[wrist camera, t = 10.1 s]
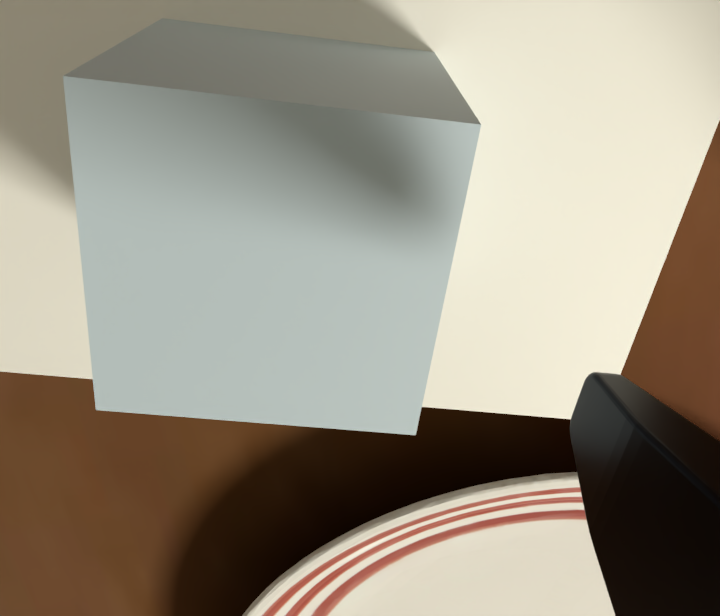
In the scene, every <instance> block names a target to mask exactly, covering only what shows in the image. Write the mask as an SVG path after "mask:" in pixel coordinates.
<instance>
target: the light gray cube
mask: <svg viewBox="0 0 720 616" xmlns="http://www.w3.org/2000/svg"><path fill="white" fill-rule="evenodd" d="M63 82H64V92H65V102H66V112H67V122H68V132H69V143H70V153H71V163H72V173H73V183H74V193H75V203H76V214H77V224H78V234H79V244H80V254H81V264H82V274H83V284H84V295H85V305H86V315H87V325H88V335H89V345H90V355H91V365H92V376H93V386H94V396H95V406H96V410H102V411H115V412H127V413H140V414H153V415H165V416H178V417H191V418H203V419H216V420H229V421H241V422H254V423H266V424H279V425H292V426H304V427H317V428H330V429H342V430H355V431H368V432H380V433H393V434H406V435H416V432H417V427H418V422H419V418H420V413H421V408H422V403H423V399H424V394H425V389H426V384H427V380H428V375H429V370H430V365H431V361H432V356H433V351H434V346H435V342H436V337H437V332H438V327H439V323H440V318H441V313H442V308H443V304H444V299H445V294H446V289H447V285H448V280H449V275H450V270H451V266H452V261H453V256H454V251H455V247H456V242H457V237H458V233H459V228H460V223H461V218H462V214H463V209H464V204H465V199H466V195H467V190H468V185H469V180H470V176H471V171H472V166H473V161H474V157H475V152H476V147H477V142H478V138H479V133H480V128H481V123H480V122H479V120H478V119H477V117H476V116H475V114H474V113H473V111H472V110H471V108H470V106H469V105H468V103H467V102H466V100H465V99H464V97H463V96H462V94H461V93H460V91H459V89H458V88H457V86H456V85H455V83H454V82H453V80H452V79H451V77H450V76H449V74H448V72H447V71H446V69H445V68H444V66H443V65H442V63H441V62H440V60H439V59H438V57H437V55H436V54H435V52H430V51H422V50H414V49H406V48H398V47H390V46H382V45H374V44H366V43H358V42H350V41H342V40H334V39H326V38H318V37H310V36H302V35H294V34H286V33H278V32H270V31H261V30H253V29H245V28H237V27H229V26H221V25H213V24H205V23H197V22H189V21H181V20H173V19H165V18H162V19H160V20H158V21H157V22H155V23H153V24H152V25H150V26H148V27H146V28H145V29H143V30H141V31H140V32H138V33H136V34H134V35H133V36H131V37H129V38H127V39H126V40H124V41H122V42H121V43H119V44H117V45H115V46H114V47H112V48H110V49H108V50H107V51H105V52H103V53H102V54H100V55H98V56H96V57H95V58H93V59H91V60H90V61H88V62H86V63H84V64H83V65H81V66H79V67H77V68H76V69H74V70H72V71H71V72H69V73H67V74H65V75H64V76H63Z"/></svg>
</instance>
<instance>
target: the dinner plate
mask: <svg viewBox="0 0 720 616" xmlns="http://www.w3.org/2000/svg"><path fill="white" fill-rule="evenodd" d="M242 616H615V613H614V610H613V607H612V604H611V600H610V597H609V594H608V591H607V588H606V585H605V582H604V578H603V575H602V572H601V569H600V566H599V563H598V560H597V556H596V553H595V550H594V547H593V543H592V540H591V536H590V533H589V529H588V524H587V520H586V515H585V510H584V505H583V500H582V495H581V489H580V484H579V479H578V474H577V472H567V473H550V474H541V475H534V476H527V477H520V478H512V479H506V480H500V481H495V482H490V483H485V484H481V485H476V486H472V487H468V488H464V489H460V490H456V491H452V492H449V493H445V494H442V495H438V496H435V497H432V498H429V499H425V500H422V501H419V502H416V503H413V504H411V505H408V506H405V507H403V508H400V509H397V510H395V511H392V512H389V513H387V514H385V515H382V516H380V517H378V518H376V519H373V520H371V521H369V522H366V523H364V524H362V525H360V526H358V527H356V528H354V529H352V530H351V531H349V532H347V533H345V534H343V535H341V536H339V537H337V538H335V539H334V540H332V541H330V542H328V543H327V544H325V545H323V546H322V547H320V548H318V549H317V550H315V551H314V552H312V553H311V554H309V555H308V556H306V557H305V558H303V559H302V560H301V561H299V562H298V563H296V564H295V565H294V566H292V567H291V568H290V569H288V570H287V571H286V572H284V573H283V574H282V575H280V576H279V577H278V578H277V579H276V580H275V581H274V582H272V583H271V584H270V585H269V586H268V587H267V588H266V589H265V590H264V591H263V592H262V593H261V594H260V595H259V596H258V597H257V598H256V599H255V600H254V602H253V603H252V604H251V605H250V606H249V608H248V609H247V610H246V611H245V613H244V614H243V615H242Z"/></svg>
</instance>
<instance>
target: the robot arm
mask: <svg viewBox="0 0 720 616" xmlns="http://www.w3.org/2000/svg"><path fill="white" fill-rule="evenodd" d="M570 438H571V443H572V448H573V453H574V458H575V464H576V469H577V474H578V479H579V484H580V489H581V495H582V500H583V505H584V510H585V515H586V520H587V524H588V529H589V533H590V536H591V540H592V543H593V547H594V550H595V553H596V556H597V560H598V563H599V566H600V569H601V572H602V575H603V578H604V582H605V585H606V588H607V591H608V594H609V597H610V600H611V604H612V607H613V610H614V613H615V616H720V442H719V441H718V440H717V439H715V438H714V437H712V436H711V435H709V434H708V433H706V432H705V431H703V430H702V429H700V428H699V427H697V426H696V425H694V424H693V423H691V422H690V421H689V420H687V419H686V418H684V417H683V416H681V415H680V414H678V413H677V412H675V411H674V410H672V409H671V408H669V407H668V406H666V405H665V404H663V403H662V402H660V401H659V400H658V399H656V398H655V397H653V396H652V395H650V394H649V393H647V392H646V391H644V390H643V389H641V388H640V387H638V386H637V385H635V384H634V383H632V382H631V381H629V380H628V379H627V378H625V377H624V376H622V375H619V374H613V373H602V372H593V373H591V374H589V375H588V376H587V377H586V379H585V381H584V383H583V386H582V389H581V392H580V395H579V397H578V400H577V403H576V406H575V408H574V411H573V414H572V417H571V421H570Z"/></svg>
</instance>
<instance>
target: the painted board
mask: <svg viewBox="0 0 720 616" xmlns="http://www.w3.org/2000/svg"><path fill="white" fill-rule="evenodd" d="M162 18H165V19H173V20H181V21H189V22H197V23H205V24H213V25H221V26H229V27H237V28H245V29H253V30H261V31H270V32H278V33H286V34H294V35H302V36H310V37H318V38H326V39H334V40H342V41H350V42H358V43H366V44H374V45H382V46H390V47H398V48H406V49H414V50H422V51H430V52H435V54H436V55H437V57H438V59H439V60H440V62H441V63H442V65H443V66H444V68H445V69H446V71H447V72H448V74H449V76H450V77H451V79H452V80H453V82H454V83H455V85H456V86H457V88H458V89H459V91H460V93H461V94H462V96H463V97H464V99H465V100H466V102H467V103H468V105H469V106H470V108H471V110H472V111H473V113H474V114H475V116H476V117H477V119H478V120H479V122H480V123H481V128H480V133H479V138H478V142H477V147H476V152H475V157H474V161H473V166H472V171H471V176H470V180H469V185H468V190H467V195H466V199H465V204H464V209H463V214H462V218H461V223H460V228H459V233H458V237H457V242H456V247H455V251H454V256H453V261H452V266H451V270H450V275H449V280H448V285H447V289H446V294H445V299H444V304H443V308H442V313H441V318H440V323H439V327H438V332H437V337H436V342H435V346H434V351H433V356H432V361H431V365H430V370H429V375H428V380H427V384H426V389H425V394H424V399H423V403H422V407H430V408H442V409H454V410H466V411H477V412H489V413H501V414H513V415H525V416H537V417H549V418H561V419H571V417H572V414H573V411H574V408H575V406H576V403H577V400H578V397H579V395H580V392H581V389H582V386H583V383H584V381H585V379H586V377H587V376H588V375H589V374H591V373H593V372H602V373H613V374H619V375H620V374H621V372H622V369H623V366H624V364H625V361H626V359H627V356H628V354H629V351H630V348H631V346H632V343H633V341H634V338H635V336H636V333H637V330H638V328H639V325H640V323H641V320H642V318H643V315H644V312H645V310H646V307H647V305H648V302H649V300H650V297H651V295H652V292H653V289H654V287H655V284H656V282H657V279H658V277H659V274H660V271H661V269H662V266H663V264H664V261H665V259H666V256H667V253H668V251H669V248H670V246H671V243H672V241H673V238H674V235H675V233H676V230H677V228H678V225H679V223H680V220H681V218H682V215H683V212H684V210H685V207H686V205H687V202H688V200H689V197H690V194H691V192H692V189H693V187H694V184H695V182H696V179H697V176H698V174H699V171H700V169H701V166H702V164H703V161H704V158H705V156H706V153H707V151H708V148H709V146H710V143H711V141H712V138H713V135H714V133H715V130H716V128H717V125H718V123H719V120H720V0H0V371H2V372H14V373H26V374H37V375H49V376H61V377H73V378H85V379H93V376H92V365H91V355H90V345H89V335H88V325H87V315H86V305H85V295H84V284H83V274H82V264H81V254H80V244H79V234H78V224H77V214H76V203H75V193H74V183H73V173H72V163H71V153H70V143H69V132H68V122H67V112H66V102H65V92H64V82H63V76H64V75H65V74H67V73H69V72H71V71H72V70H74V69H76V68H77V67H79V66H81V65H83V64H84V63H86V62H88V61H90V60H91V59H93V58H95V57H96V56H98V55H100V54H102V53H103V52H105V51H107V50H108V49H110V48H112V47H114V46H115V45H117V44H119V43H121V42H122V41H124V40H126V39H127V38H129V37H131V36H133V35H134V34H136V33H138V32H140V31H141V30H143V29H145V28H146V27H148V26H150V25H152V24H153V23H155V22H157V21H158V20H160V19H162Z"/></svg>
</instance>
